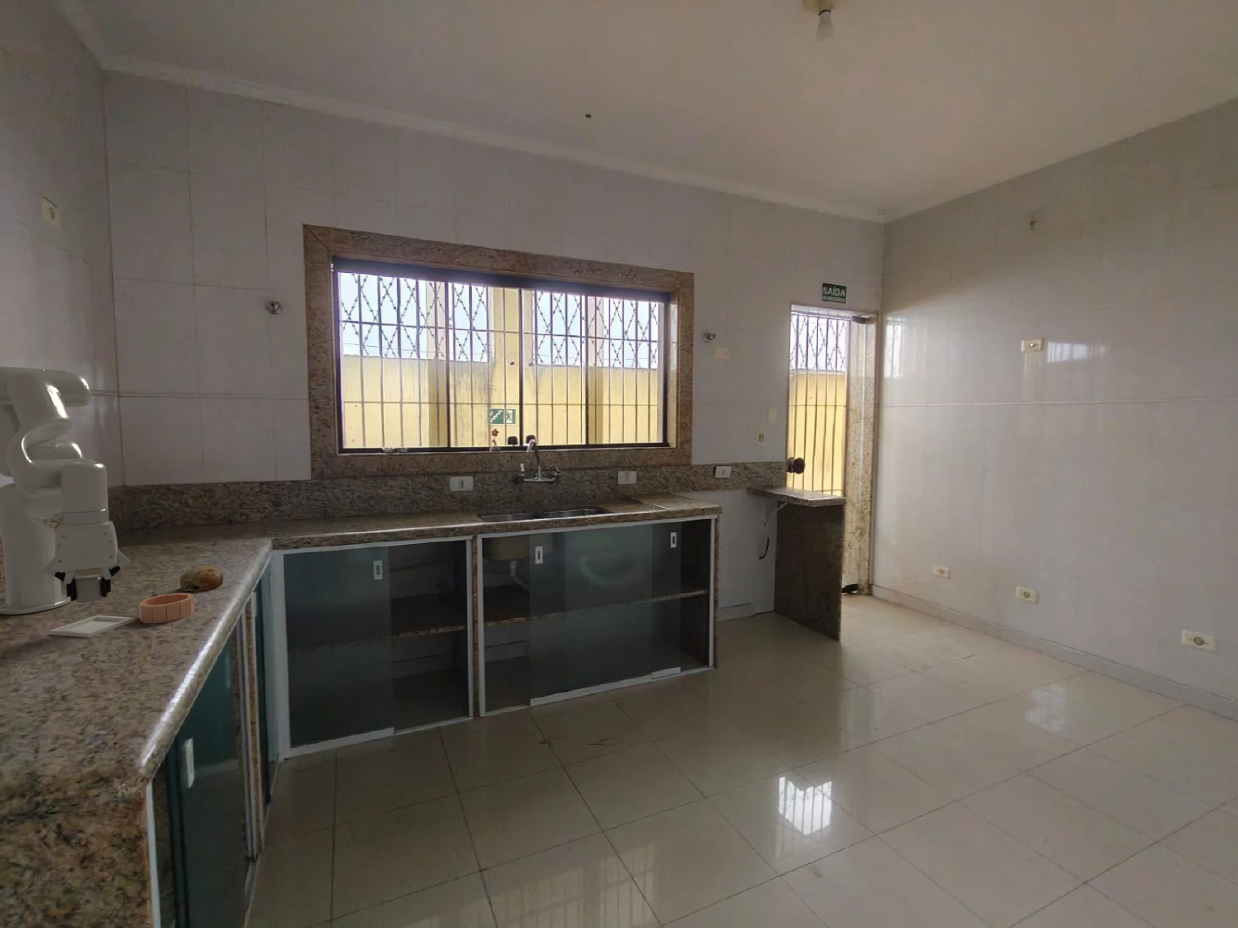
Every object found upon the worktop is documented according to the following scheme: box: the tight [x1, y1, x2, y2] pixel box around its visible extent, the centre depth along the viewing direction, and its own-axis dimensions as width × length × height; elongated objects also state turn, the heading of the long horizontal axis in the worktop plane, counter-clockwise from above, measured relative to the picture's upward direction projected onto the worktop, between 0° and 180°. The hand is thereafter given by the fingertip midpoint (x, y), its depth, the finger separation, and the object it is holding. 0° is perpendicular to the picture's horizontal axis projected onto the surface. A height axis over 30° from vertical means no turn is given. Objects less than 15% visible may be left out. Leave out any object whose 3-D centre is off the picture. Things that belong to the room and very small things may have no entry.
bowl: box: [138, 592, 195, 624], centre depth 136 cm, size 10×10×4 cm
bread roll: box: [179, 564, 224, 592], centre depth 160 cm, size 10×10×8 cm
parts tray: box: [49, 614, 136, 638], centre depth 128 cm, size 10×10×1 cm
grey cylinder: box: [75, 574, 104, 604], centre depth 127 cm, size 4×4×5 cm
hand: (89, 596), depth 128 cm, fingers closed on grey cylinder, 4 cm apart
